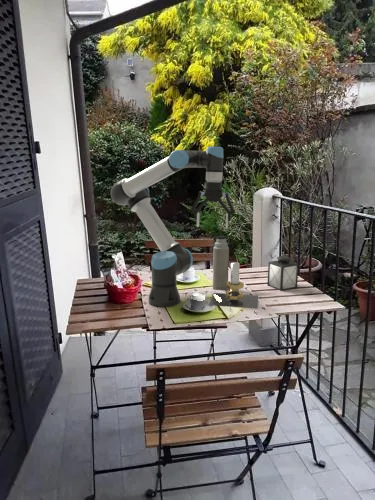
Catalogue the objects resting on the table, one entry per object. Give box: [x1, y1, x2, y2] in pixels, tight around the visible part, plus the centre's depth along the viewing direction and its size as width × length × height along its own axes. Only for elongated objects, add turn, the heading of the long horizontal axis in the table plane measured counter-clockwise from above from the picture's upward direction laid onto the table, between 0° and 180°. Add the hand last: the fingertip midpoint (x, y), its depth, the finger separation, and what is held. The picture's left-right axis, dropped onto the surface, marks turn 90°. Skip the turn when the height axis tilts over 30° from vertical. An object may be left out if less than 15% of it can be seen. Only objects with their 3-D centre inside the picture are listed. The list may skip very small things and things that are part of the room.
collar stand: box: [208, 280, 259, 309], centre depth 193 cm, size 22×18×10 cm
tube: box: [229, 261, 240, 302], centre depth 192 cm, size 4×4×18 cm
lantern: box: [267, 235, 299, 292], centre depth 217 cm, size 11×11×28 cm
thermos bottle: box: [212, 235, 230, 292], centre depth 213 cm, size 8×8×28 cm
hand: (212, 227), depth 192 cm, fingers open, 13 cm apart
